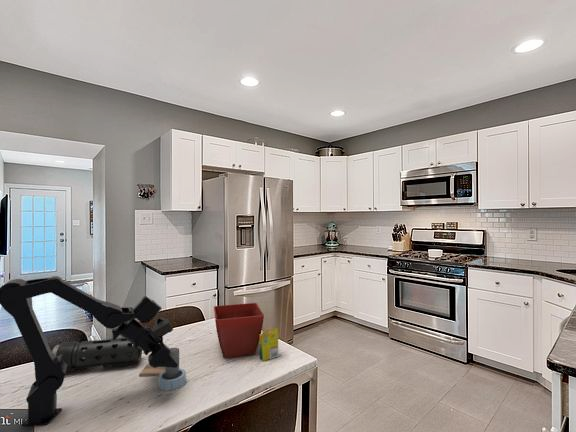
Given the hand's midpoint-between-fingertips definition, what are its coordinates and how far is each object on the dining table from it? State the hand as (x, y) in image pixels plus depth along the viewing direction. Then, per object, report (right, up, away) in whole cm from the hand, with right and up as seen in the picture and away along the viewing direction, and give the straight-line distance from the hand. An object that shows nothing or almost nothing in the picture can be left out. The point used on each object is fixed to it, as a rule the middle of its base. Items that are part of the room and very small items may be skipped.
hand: (174, 360), depth 102 cm
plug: (-1, -7, 0) cm, 7 cm away
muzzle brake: (-32, -8, +11) cm, 34 cm away
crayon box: (+31, -8, +19) cm, 37 cm away
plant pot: (+17, -8, +26) cm, 32 cm away
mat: (-10, -8, +9) cm, 15 cm away
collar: (-1, -7, 0) cm, 7 cm away
